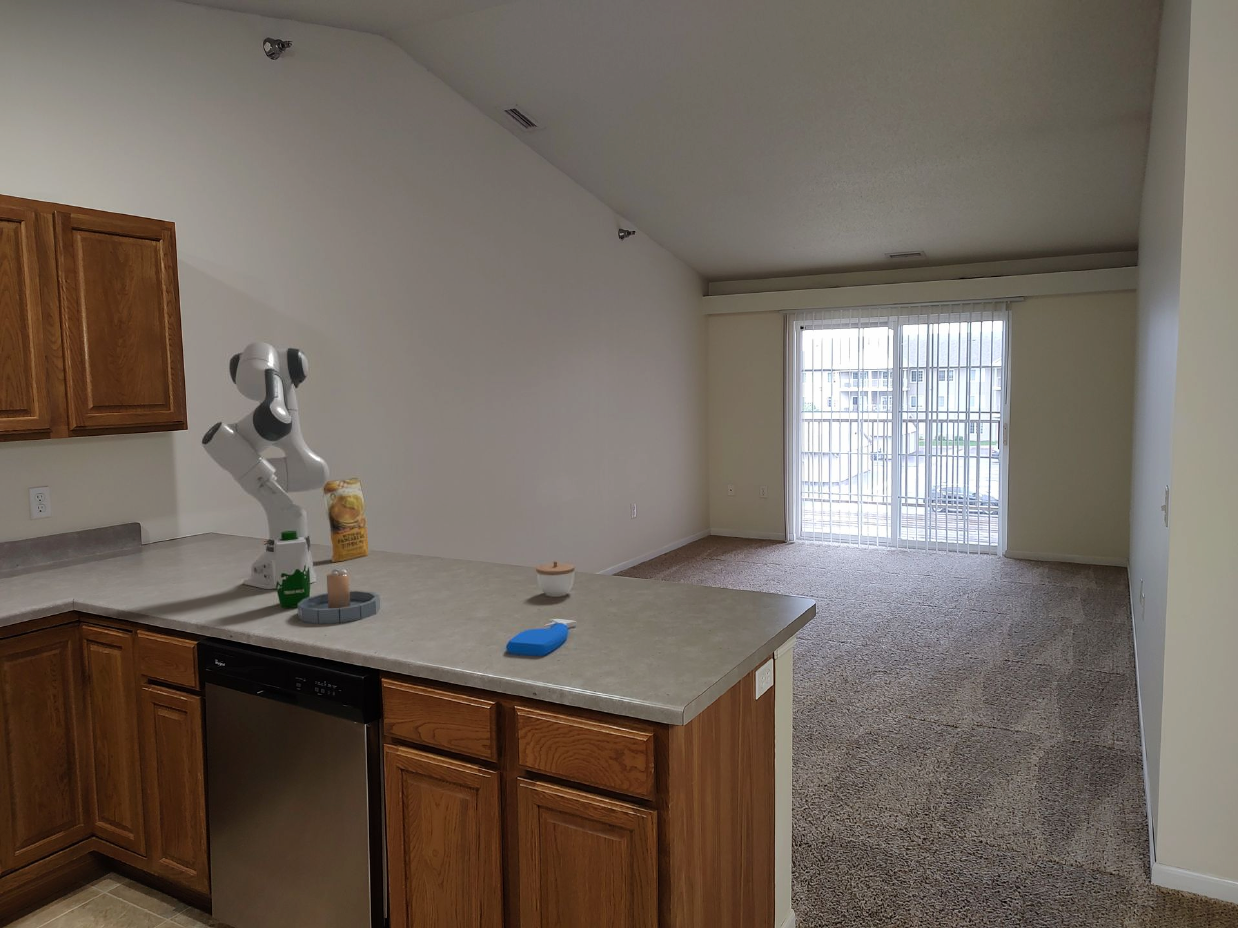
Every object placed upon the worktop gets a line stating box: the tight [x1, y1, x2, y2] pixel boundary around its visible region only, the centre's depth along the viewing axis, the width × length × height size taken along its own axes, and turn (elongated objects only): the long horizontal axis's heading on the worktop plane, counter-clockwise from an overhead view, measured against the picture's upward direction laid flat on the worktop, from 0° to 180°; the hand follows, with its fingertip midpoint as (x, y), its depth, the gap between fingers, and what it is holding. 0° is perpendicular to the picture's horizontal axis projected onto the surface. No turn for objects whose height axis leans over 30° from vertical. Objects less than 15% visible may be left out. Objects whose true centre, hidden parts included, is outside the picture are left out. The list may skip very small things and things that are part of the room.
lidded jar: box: [535, 560, 576, 598], centre depth 236 cm, size 11×11×9 cm
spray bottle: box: [505, 618, 577, 657], centre depth 194 cm, size 3×11×24 cm
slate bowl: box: [297, 590, 381, 625], centre depth 222 cm, size 20×20×4 cm
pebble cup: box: [326, 568, 351, 608], centre depth 221 cm, size 6×6×10 cm
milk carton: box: [274, 531, 311, 610], centre depth 231 cm, size 9×9×20 cm
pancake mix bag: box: [321, 477, 370, 563], centre depth 295 cm, size 7×19×28 cm, turn 149°
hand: (297, 514), depth 219 cm, fingers open, 8 cm apart
